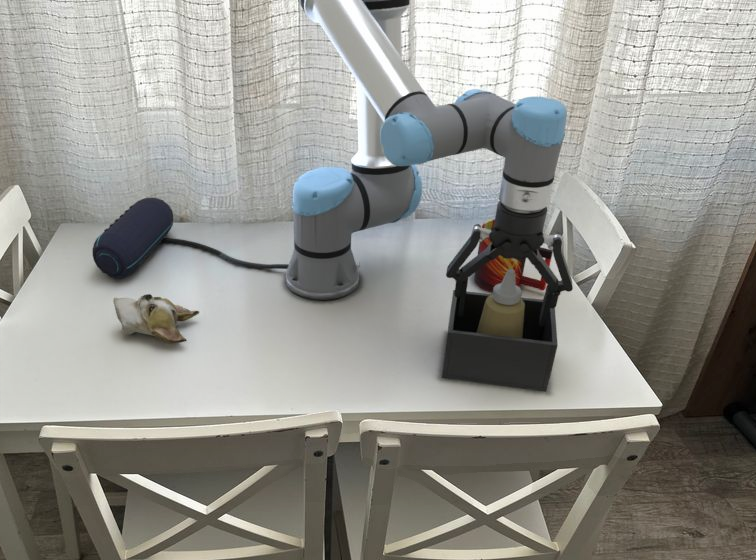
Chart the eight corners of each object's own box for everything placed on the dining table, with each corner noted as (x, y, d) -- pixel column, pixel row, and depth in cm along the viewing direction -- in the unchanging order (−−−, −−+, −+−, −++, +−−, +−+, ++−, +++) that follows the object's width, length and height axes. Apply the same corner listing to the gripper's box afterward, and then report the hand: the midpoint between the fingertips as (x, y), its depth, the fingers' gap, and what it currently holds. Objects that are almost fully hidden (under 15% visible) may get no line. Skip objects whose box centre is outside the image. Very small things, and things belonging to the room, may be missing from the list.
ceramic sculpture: (122, 275, 137) (198, 284, 136) (127, 313, 142) (200, 322, 141) (102, 306, 129) (183, 316, 128) (107, 345, 134) (186, 354, 133)
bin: (441, 377, 125) (447, 332, 119) (447, 333, 136) (453, 289, 130) (546, 391, 122) (557, 345, 116) (544, 345, 133) (554, 300, 127)
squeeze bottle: (469, 344, 132) (482, 258, 121) (513, 344, 131) (530, 258, 121) (476, 372, 125) (490, 283, 114) (522, 372, 125) (541, 283, 114)
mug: (544, 295, 146) (556, 243, 139) (475, 292, 148) (483, 239, 140) (538, 271, 154) (548, 220, 147) (472, 268, 155) (479, 217, 148)
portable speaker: (142, 228, 172) (135, 189, 166) (180, 233, 170) (175, 194, 164) (89, 281, 153) (80, 239, 147) (132, 287, 151) (124, 245, 145)
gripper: (439, 206, 110) (425, 319, 123) (610, 222, 105) (577, 339, 118) (443, 185, 116) (430, 296, 129) (605, 200, 111) (575, 313, 124)
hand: (500, 317), depth 124 cm, fingers open, 13 cm apart
